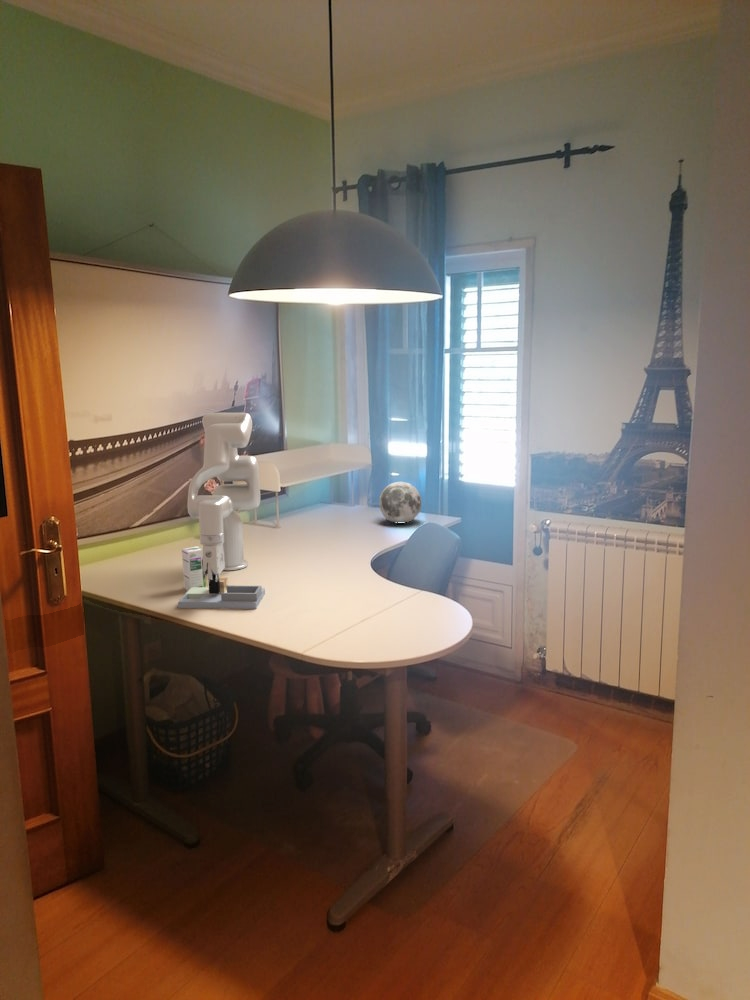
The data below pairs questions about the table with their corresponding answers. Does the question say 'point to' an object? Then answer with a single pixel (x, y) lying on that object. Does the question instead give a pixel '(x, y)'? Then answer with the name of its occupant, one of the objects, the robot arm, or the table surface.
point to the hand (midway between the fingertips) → (214, 592)
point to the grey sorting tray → (223, 598)
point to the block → (223, 584)
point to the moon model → (400, 502)
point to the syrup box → (193, 567)
